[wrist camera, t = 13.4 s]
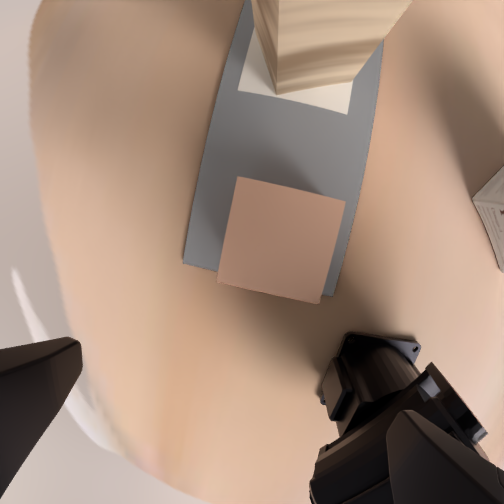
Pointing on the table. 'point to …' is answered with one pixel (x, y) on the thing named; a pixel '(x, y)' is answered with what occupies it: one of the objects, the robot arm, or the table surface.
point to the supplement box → (493, 213)
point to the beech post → (320, 38)
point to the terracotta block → (279, 240)
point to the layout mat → (280, 144)
